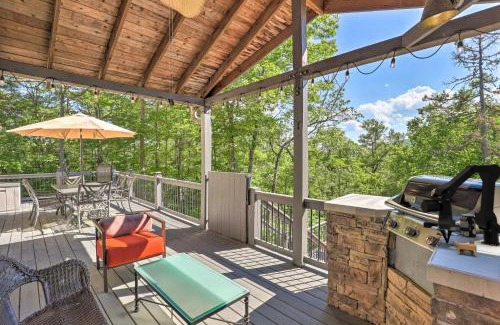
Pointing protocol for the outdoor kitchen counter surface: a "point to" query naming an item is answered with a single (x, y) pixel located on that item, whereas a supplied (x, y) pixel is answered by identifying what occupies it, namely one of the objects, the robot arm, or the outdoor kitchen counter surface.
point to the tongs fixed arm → (468, 252)
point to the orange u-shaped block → (467, 247)
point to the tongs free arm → (456, 244)
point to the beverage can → (469, 220)
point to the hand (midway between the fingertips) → (447, 243)
